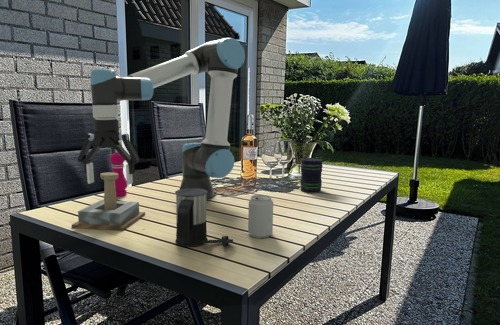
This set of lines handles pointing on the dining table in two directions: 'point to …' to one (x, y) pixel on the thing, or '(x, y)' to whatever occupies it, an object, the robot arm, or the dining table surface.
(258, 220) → the can
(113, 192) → the handle
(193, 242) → the milk frother
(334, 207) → the dining table surface
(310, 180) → the storage jar
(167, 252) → the dining table surface
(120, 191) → the pepper mill
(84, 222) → the frame
